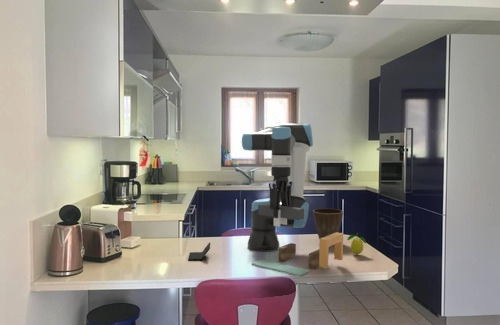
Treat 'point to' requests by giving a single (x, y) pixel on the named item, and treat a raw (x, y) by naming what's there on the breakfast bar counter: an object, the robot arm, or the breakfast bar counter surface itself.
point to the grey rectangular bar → (282, 211)
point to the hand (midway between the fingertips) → (280, 224)
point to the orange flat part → (327, 242)
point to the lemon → (356, 244)
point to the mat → (281, 267)
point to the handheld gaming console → (198, 254)
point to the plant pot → (327, 221)
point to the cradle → (289, 253)
